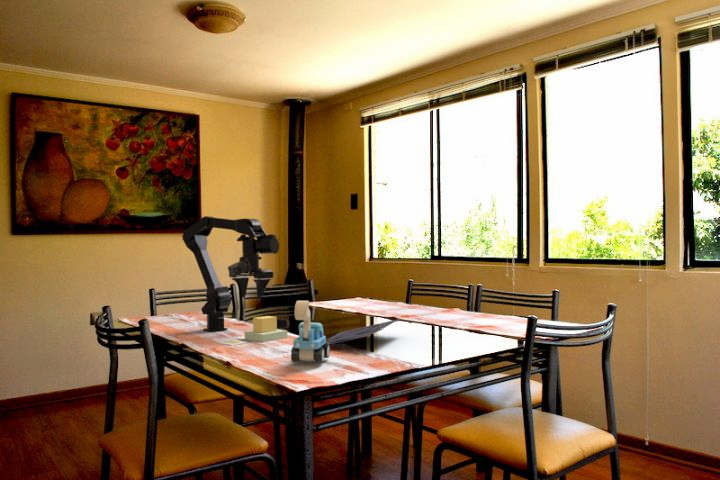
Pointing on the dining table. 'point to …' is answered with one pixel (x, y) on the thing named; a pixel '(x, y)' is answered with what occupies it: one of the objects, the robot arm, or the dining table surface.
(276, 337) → the base brick
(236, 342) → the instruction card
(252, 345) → the dining table surface
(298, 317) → the toy excavator
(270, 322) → the top brick
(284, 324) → the tape measure
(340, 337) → the dark grey flat panel
